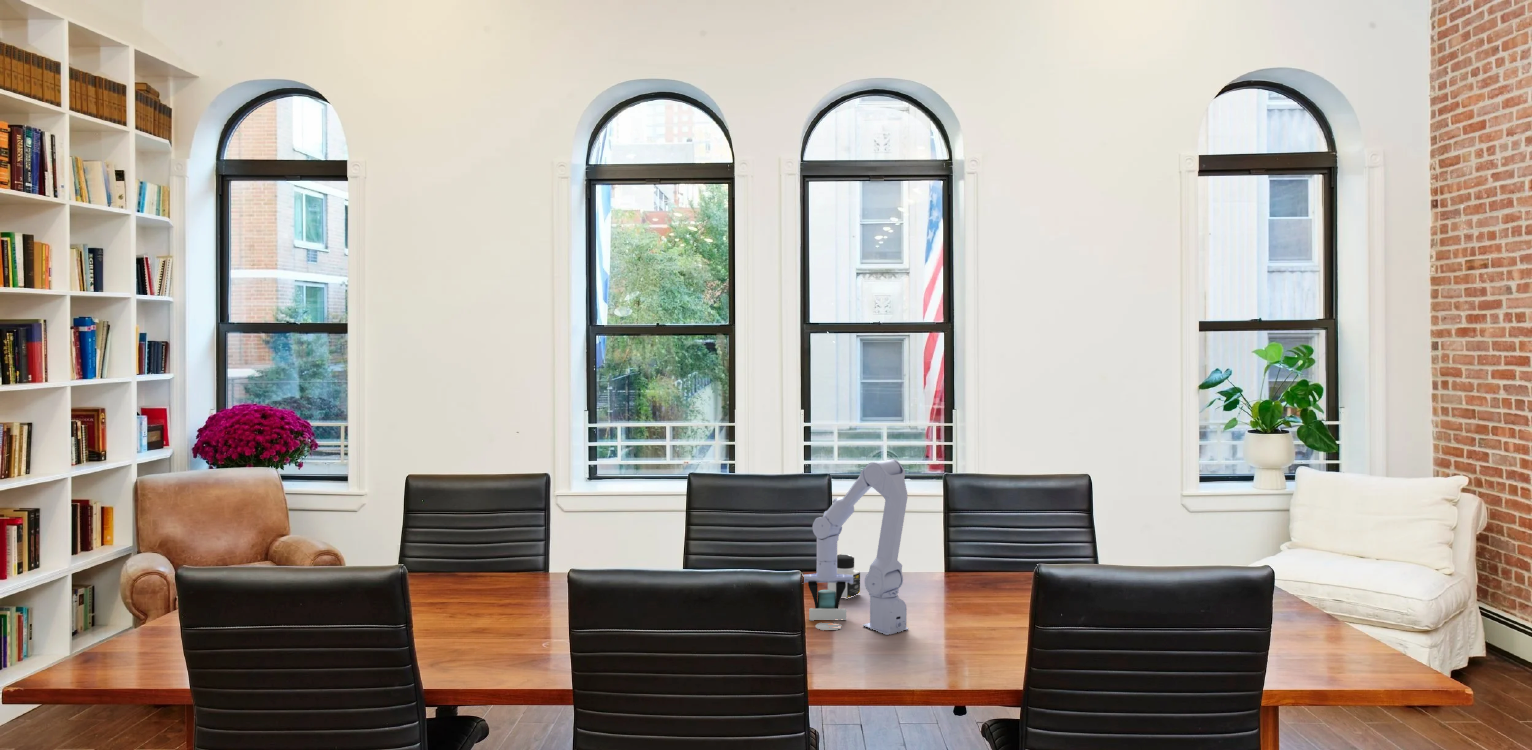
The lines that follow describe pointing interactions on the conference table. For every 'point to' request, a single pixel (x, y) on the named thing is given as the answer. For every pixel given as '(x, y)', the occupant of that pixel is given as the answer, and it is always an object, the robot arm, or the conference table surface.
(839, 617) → the divider wall
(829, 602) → the teal cylinder
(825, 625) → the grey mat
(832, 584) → the medicine bottle
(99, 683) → the conference table surface
